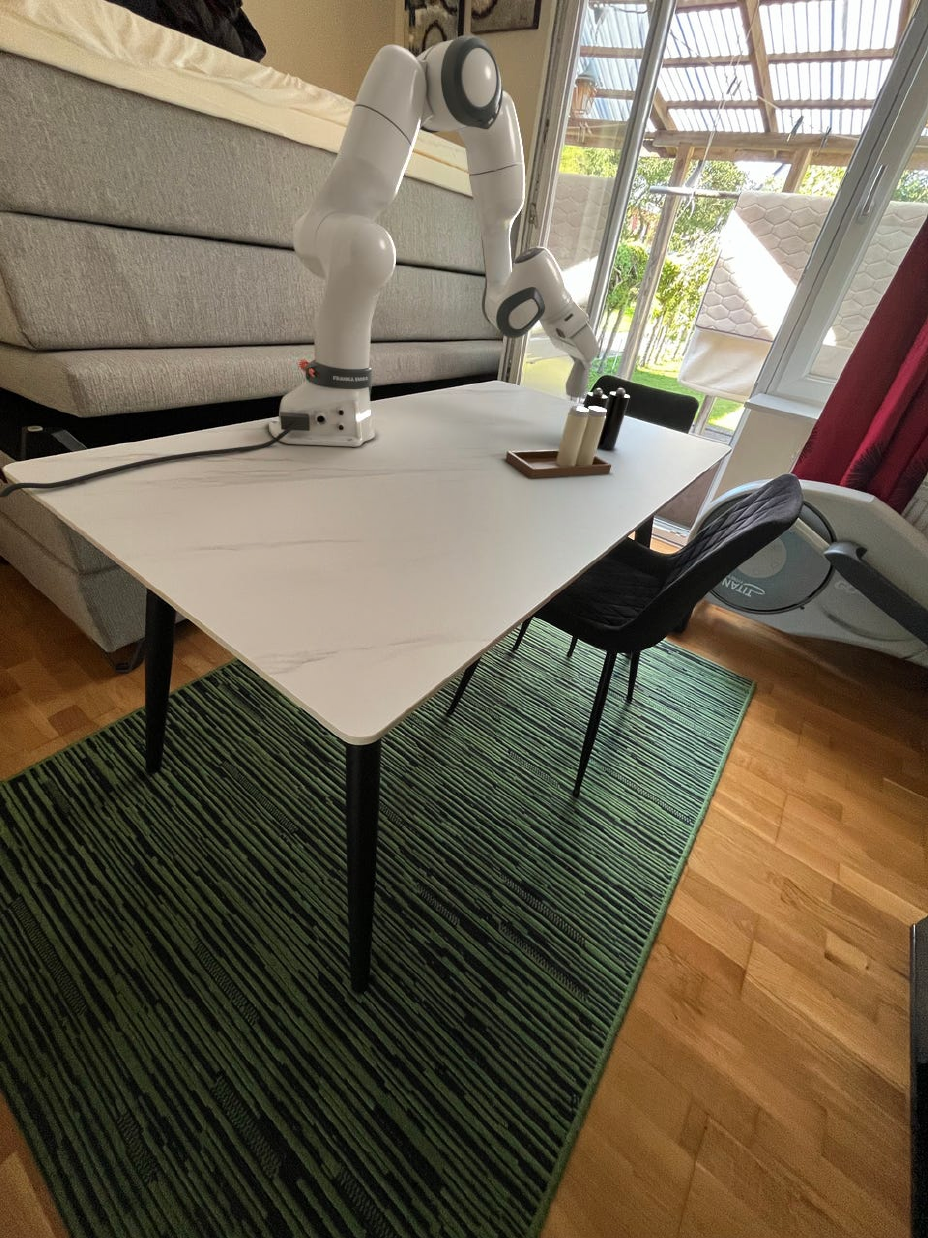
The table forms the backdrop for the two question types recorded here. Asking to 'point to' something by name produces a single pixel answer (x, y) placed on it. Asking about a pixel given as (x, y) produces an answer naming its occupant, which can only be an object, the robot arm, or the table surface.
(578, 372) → the salt shaker
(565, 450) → the cream shaker
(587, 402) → the pepper mill
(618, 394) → the pepper mill
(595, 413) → the cream shaker
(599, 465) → the walnut tray
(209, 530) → the table surface
